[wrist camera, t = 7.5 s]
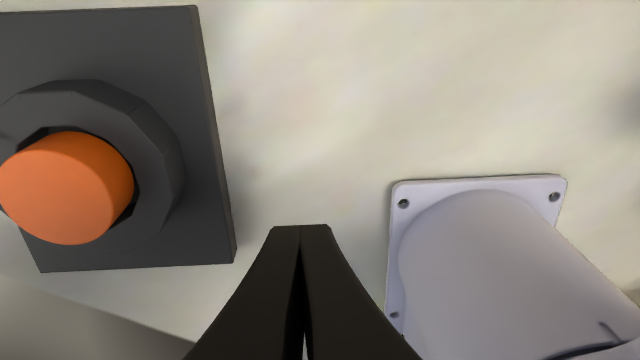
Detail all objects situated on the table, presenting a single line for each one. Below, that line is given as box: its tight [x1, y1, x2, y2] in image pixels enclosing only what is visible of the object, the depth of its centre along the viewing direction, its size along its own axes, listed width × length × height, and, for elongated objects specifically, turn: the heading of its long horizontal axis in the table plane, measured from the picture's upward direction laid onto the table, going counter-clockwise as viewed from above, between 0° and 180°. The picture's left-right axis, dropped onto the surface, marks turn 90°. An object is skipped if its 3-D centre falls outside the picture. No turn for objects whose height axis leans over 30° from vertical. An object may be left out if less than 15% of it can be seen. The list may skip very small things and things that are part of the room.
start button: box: [0, 131, 134, 245], centre depth 13 cm, size 4×4×2 cm
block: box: [0, 5, 237, 273], centre depth 15 cm, size 11×9×3 cm
